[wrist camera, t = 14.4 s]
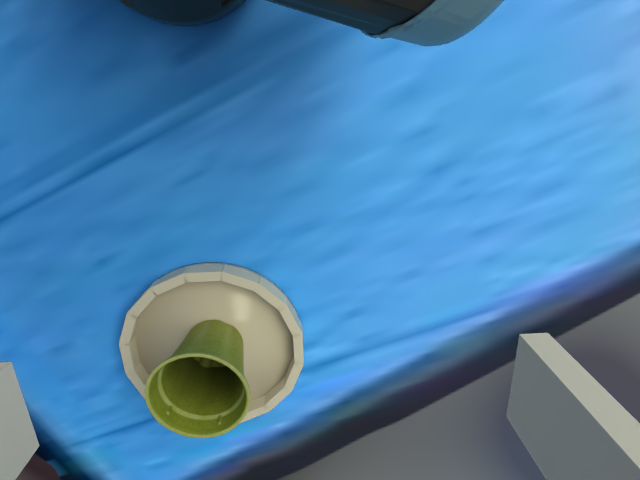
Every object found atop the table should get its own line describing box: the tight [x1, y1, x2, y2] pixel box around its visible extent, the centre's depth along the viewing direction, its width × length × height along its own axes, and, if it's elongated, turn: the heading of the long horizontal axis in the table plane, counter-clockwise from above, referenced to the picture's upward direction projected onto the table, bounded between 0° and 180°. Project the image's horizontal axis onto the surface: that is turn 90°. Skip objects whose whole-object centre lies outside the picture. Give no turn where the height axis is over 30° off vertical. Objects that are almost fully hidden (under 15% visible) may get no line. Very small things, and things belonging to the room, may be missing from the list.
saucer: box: [119, 262, 304, 423], centre depth 46 cm, size 19×19×2 cm
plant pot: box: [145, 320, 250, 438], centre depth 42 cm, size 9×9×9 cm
